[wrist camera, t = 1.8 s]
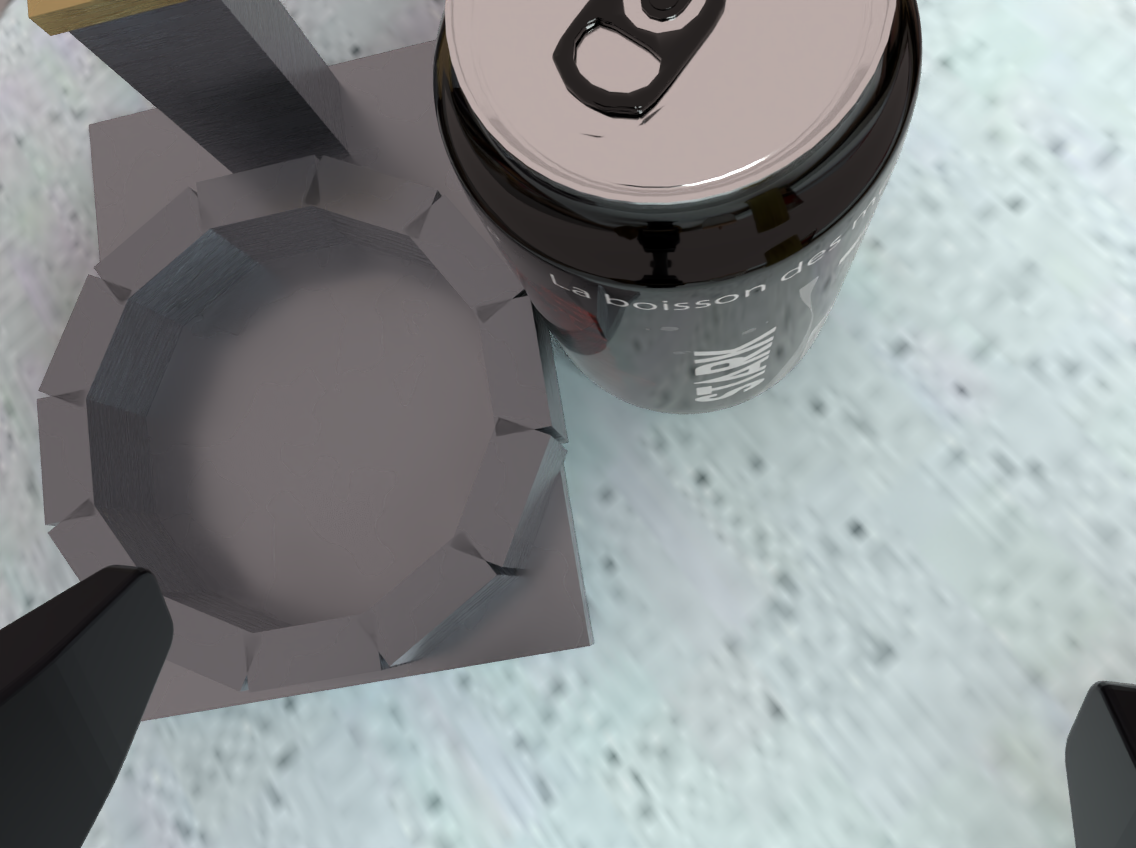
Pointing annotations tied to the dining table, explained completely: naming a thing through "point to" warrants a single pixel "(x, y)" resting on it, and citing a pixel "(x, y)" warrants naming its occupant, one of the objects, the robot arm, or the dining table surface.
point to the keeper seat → (301, 371)
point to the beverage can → (678, 172)
